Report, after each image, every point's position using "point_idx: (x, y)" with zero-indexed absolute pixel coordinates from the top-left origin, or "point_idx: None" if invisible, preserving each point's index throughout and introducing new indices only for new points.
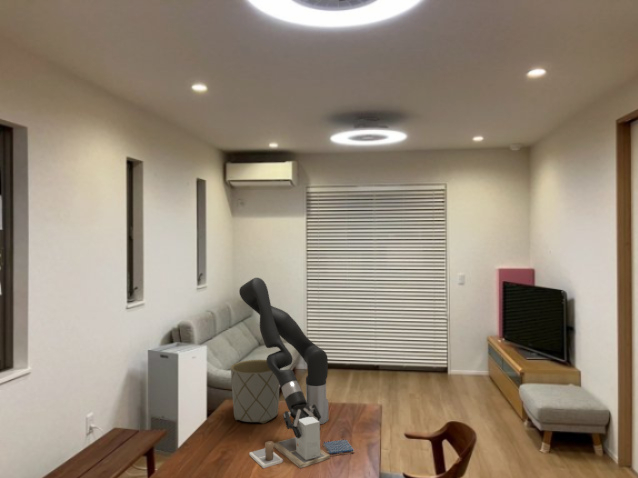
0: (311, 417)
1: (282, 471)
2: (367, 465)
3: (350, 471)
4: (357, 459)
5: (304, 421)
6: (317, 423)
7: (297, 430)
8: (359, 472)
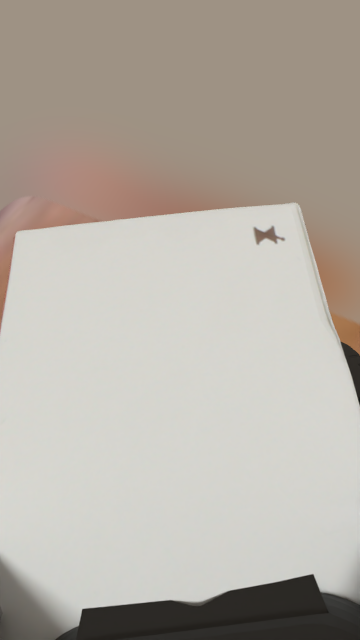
0: (10, 517)
1: (352, 330)
2: (6, 234)
3: (86, 222)
4: (3, 287)
5: (265, 352)
6: (68, 238)
7: (351, 360)
8: (64, 206)
